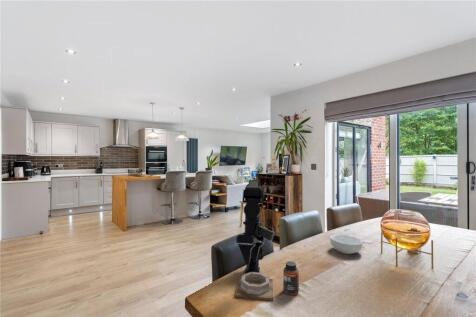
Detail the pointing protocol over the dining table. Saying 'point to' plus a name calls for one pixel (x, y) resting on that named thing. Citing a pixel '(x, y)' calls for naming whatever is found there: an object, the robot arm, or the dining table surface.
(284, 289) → the supplement bottle
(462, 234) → the dining table surface
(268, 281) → the ring holder
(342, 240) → the cereal bowl
